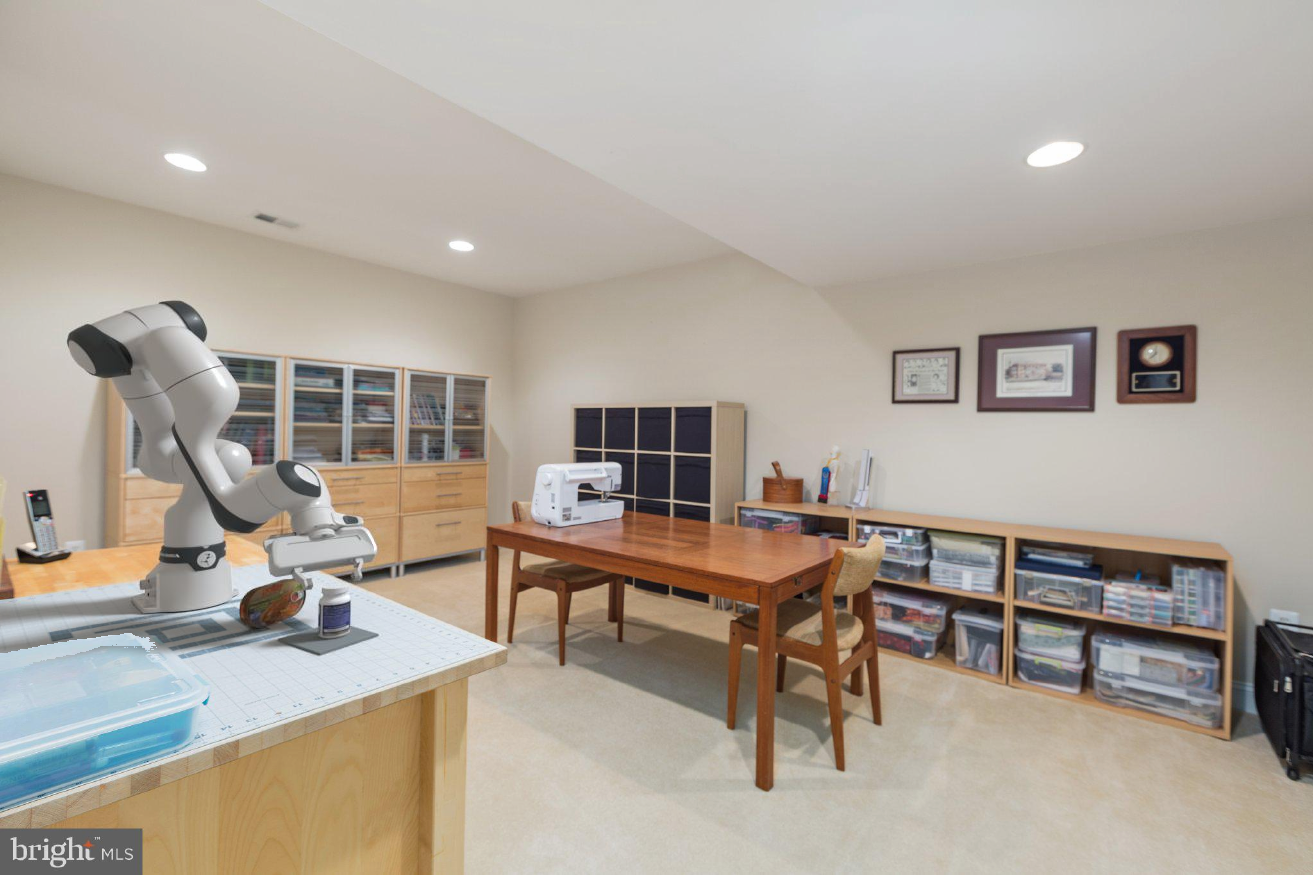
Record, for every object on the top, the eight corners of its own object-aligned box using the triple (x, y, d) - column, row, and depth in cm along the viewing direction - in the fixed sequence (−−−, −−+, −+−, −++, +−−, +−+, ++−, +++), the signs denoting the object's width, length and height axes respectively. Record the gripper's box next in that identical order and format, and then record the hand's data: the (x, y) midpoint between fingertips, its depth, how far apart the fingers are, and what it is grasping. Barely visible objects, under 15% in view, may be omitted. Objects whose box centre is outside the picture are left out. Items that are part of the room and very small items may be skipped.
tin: (248, 633, 117) (249, 592, 117) (235, 632, 117) (236, 591, 117) (307, 611, 131) (307, 574, 131) (295, 610, 132) (296, 573, 132)
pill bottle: (356, 632, 118) (357, 583, 118) (332, 641, 112) (333, 590, 112) (335, 628, 120) (336, 580, 119) (310, 637, 114) (311, 587, 114)
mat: (277, 640, 113) (277, 638, 113) (336, 623, 124) (336, 621, 124) (320, 655, 106) (320, 653, 106) (378, 635, 117) (378, 633, 117)
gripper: (264, 527, 115) (279, 585, 109) (369, 516, 131) (387, 566, 124) (257, 545, 118) (271, 603, 112) (361, 533, 134) (378, 583, 127)
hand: (333, 583), depth 118 cm, fingers open, 8 cm apart
